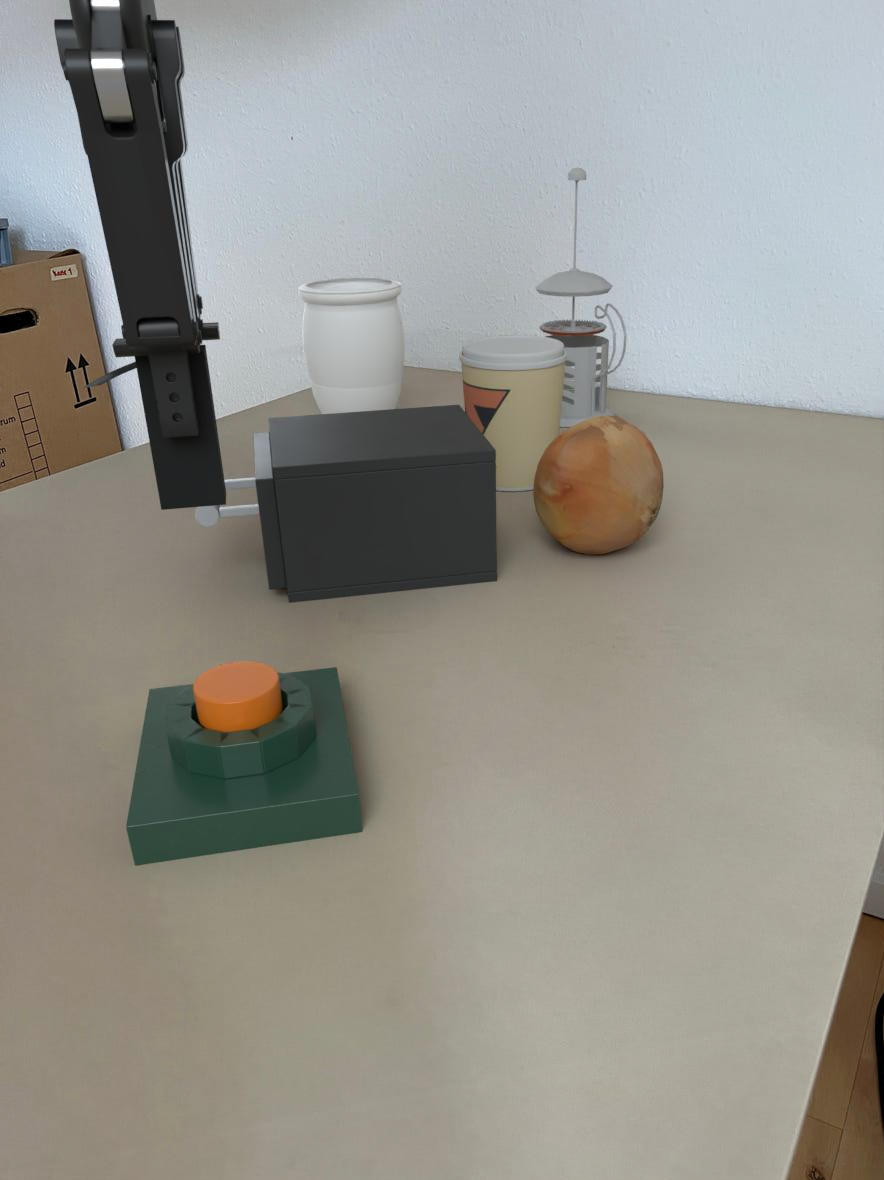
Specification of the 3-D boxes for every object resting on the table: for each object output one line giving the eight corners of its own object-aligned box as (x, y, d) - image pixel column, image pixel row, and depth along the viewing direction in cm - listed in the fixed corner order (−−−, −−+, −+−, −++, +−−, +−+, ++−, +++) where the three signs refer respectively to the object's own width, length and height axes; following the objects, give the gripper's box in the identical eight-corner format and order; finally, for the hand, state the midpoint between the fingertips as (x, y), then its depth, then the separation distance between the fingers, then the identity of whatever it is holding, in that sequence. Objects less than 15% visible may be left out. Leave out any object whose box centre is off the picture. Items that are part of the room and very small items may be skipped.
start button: (200, 696, 48) (194, 665, 48) (281, 686, 49) (277, 656, 48) (196, 739, 45) (190, 707, 44) (284, 728, 46) (279, 696, 45)
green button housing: (156, 723, 53) (143, 659, 51) (340, 700, 55) (333, 637, 53) (134, 866, 43) (117, 792, 41) (362, 833, 44) (355, 760, 43)
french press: (568, 400, 115) (574, 165, 103) (645, 418, 107) (661, 166, 96) (508, 415, 109) (507, 168, 97) (586, 436, 101) (594, 170, 90)
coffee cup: (447, 470, 92) (443, 340, 86) (536, 457, 95) (537, 330, 89) (487, 500, 84) (485, 359, 78) (582, 485, 87) (586, 348, 82)
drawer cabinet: (288, 603, 66) (272, 467, 62) (282, 537, 77) (268, 417, 73) (497, 581, 69) (495, 449, 64) (462, 520, 80) (459, 404, 75)
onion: (558, 518, 80) (561, 396, 75) (676, 536, 76) (687, 408, 71) (509, 560, 72) (509, 427, 68) (638, 582, 68) (647, 443, 64)
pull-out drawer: (204, 596, 65) (186, 485, 62) (209, 536, 75) (194, 437, 72) (463, 570, 69) (460, 463, 65) (435, 515, 78) (431, 419, 75)
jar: (366, 450, 98) (355, 294, 91) (290, 435, 103) (274, 287, 96) (428, 425, 106) (422, 280, 99) (354, 413, 111) (344, 274, 104)
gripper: (4, -145, 36) (120, 463, 48) (-101, -266, 25) (83, 568, 36) (210, -138, 38) (276, 452, 49) (197, -249, 27) (287, 549, 38)
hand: (194, 501), depth 43 cm, fingers closed
